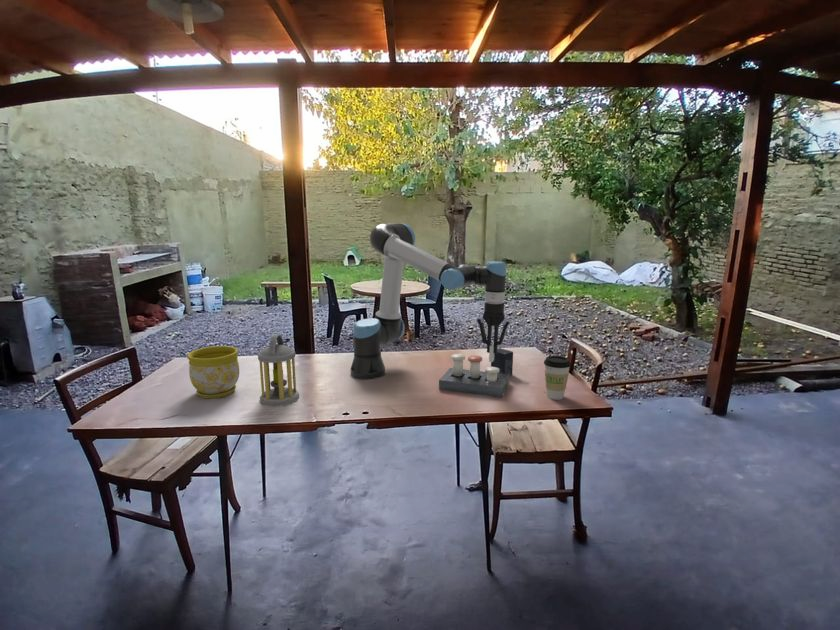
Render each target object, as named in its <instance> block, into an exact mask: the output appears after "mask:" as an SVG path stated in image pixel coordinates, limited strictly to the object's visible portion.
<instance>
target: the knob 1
mask: <svg viewBox="0 0 840 630" xmlns="http://www.w3.org/2000/svg"><path fill="white" fill-rule="evenodd" d="M450 358H451V360H452V368H453V375H454V376H462V375H463V369H464V360H465V359H466V355H465V354H463V353H454V354H451V356H450Z"/></svg>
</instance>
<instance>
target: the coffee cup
mask: <svg viewBox="0 0 840 630" xmlns="http://www.w3.org/2000/svg"><path fill="white" fill-rule="evenodd" d="M543 364H544V368H545V369H544V373H545V374H544V377H545V388H546V398H548V399H551V400H557V401H559V400H560V401H561V400H563V399H564V397H565V393H566V388H567V384H568V379H569V373H570V372H569V371H570V367H572V363H571V361H570V359H569V358H568V357H565V356H562V355H561V356H560V355H548V356H546V358H545V359H544V361H543Z"/></svg>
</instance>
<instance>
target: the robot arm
mask: <svg viewBox="0 0 840 630" xmlns="http://www.w3.org/2000/svg"><path fill="white" fill-rule="evenodd" d="M369 243H370V245H371V247H372V249H374V251H376V252H378V253H379V254H380V255H382V256H383V257H384V261H383V271H382V281H381V282H382V283H381V289H380V302H379V310H377V311H376V312H375V317H374V318H373V317H372V318H363V319H359V320H358V321H356V322H354V324H353V327H352V328H353V331H352V335H353V337H352V338H353V360H352V363H351V367H350V376H351V377H353V378H355V379H360V380H361V379H362V380H370V379H371V380H373V379H378V378H381V377H383V376H384V375H385V374H386V366H385V363H384V360H383V358H382V347H383V346H386V345H388V344H393V343H395V342H397V341H399V340H400V339H401V338H402V337H403V335H404V334H405V328H406V327H405V322H404V320H403V319H402V314H401V313H400V312H399V311H400V301H401V291H402V282H403V276H404V275H403V273H404V265H407V266H410V267H411V268H414V269H415V270H417V271H419V272H421V273H423V274H425V275H426V276H429V277H431V278H433V279H435V280H437V281H439V282H440V284H441V285H442V287H443V288H444V289H446V290H450V291H452V290H453V291H454V290H459V289H462V288H465V287H469V286H472V285H474V286H475V285H476V286H484V301H485V302H484V304H483V305H484V308H483V309H484V310H483V314H482V316H481V317H478V318H477V320H476V322H477V323H478V326H479V331H480V335H481V336H480V337H481V340H482V343H483V344H486V353H487V354H488V353H489V354H488V362H489V363H491V362H493V361H494V353H495V354H496V353H497V349H498V346H501V345H502V344H503V342H504V339H505V335H506V331H507V329H508V326H509V325H510V323H511V320H509V319H506V316H505V303H504V302H505V301H506V299H505V298H506V280H507V265H506V262H504V261H499V260H497V261H495V260H492V261H491V260H490V261H487V262H486V263H485V265H484V266H483V265H475V264H469V263H465V264H459V265H458V267H457V266H455V265H453V264H451V263H449V262H447V261H445V260H443V259H441V258H439V257H437V256H435V255H433V254H431V253H429V252H427V251H425V250H423V249H421V248H419V247H416V246H415V243H416V234H415V231H414V230H413V228H412V227H411V226H410V225H408V224H407V223H400V222H393V223H380V224H378V225H376V226H375V227H374V228H372V230H371V231H370V234H369ZM484 321H485V323H486V325H487V334H486V327H485V324H484ZM502 323H503V327H502V329H501V330H502V331H501V333H500V337H499V327H500V325H502ZM492 333H493V336H492ZM492 337H493V343H492Z"/></svg>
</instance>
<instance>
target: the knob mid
mask: <svg viewBox="0 0 840 630" xmlns="http://www.w3.org/2000/svg"><path fill="white" fill-rule="evenodd" d="M467 360H468V361H469V370H470V377H471V378H479V377H480V371H481V362H482V361H483V356H481V355H469V356H467Z"/></svg>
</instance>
